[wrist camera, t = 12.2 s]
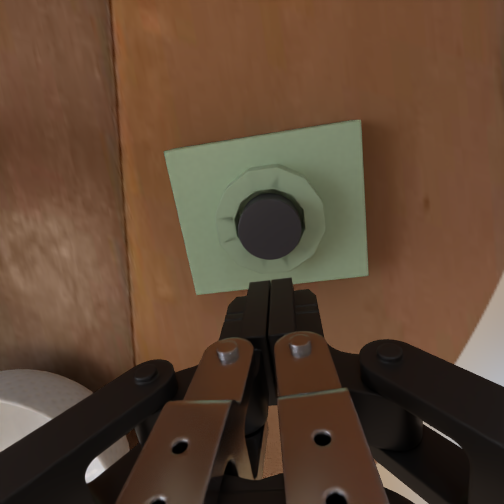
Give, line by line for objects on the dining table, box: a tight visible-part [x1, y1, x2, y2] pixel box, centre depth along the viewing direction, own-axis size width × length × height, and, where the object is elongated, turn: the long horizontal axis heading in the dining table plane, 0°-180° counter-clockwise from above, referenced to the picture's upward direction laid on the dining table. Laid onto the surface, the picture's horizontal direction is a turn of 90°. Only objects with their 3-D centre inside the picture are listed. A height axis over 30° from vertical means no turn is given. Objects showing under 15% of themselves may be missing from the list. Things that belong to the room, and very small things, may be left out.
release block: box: [164, 120, 369, 295], centre depth 23 cm, size 12×10×4 cm
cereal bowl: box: [0, 369, 130, 483], centre depth 30 cm, size 17×17×7 cm
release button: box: [238, 193, 302, 260], centre depth 21 cm, size 4×4×2 cm
